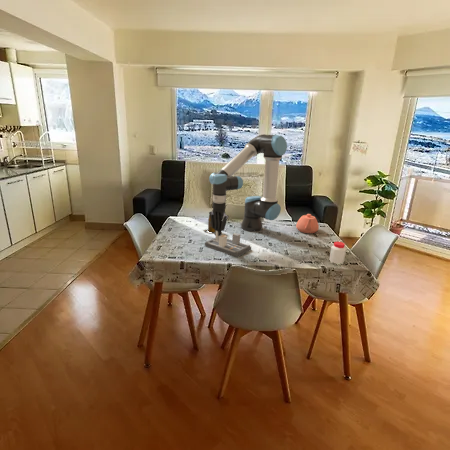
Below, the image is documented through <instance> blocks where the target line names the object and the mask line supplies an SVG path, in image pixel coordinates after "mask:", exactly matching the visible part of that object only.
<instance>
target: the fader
mask: <svg viewBox="0 0 450 450" xmlns="http://www.w3.org/2000/svg"><path fill="white" fill-rule="evenodd" d="M227 238H228V236H227V235H225V234H221V235H220V236H219V246H221V247H225V246H227Z"/></svg>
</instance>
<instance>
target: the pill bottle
mask: <svg viewBox="0 0 450 450" xmlns="http://www.w3.org/2000/svg"><path fill="white" fill-rule="evenodd" d="M345 245H346V243H344V242H342V241H334V242H333V245H331V247H330V252H329V259H328V261H329V260H330V261H331V262H334V263H343V262H344V263H345V257H346V254H347V253H346V252H347V247H345ZM331 262H330V263H331Z"/></svg>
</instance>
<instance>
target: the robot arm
mask: <svg viewBox="0 0 450 450" xmlns="http://www.w3.org/2000/svg"><path fill="white" fill-rule="evenodd" d="M287 149H288V144H287V140H286V138H285V137H284V136H282V135H279V134H259V135H256V136H255V137H254V138H252V139H250V140H249V141H248V142H247V143H246V144H245V145H244V148H243V149H242V150H240V152H239V153H237V154H236V155H235V156H234V157H232V159H231V160H230V161H229V162H228V163H226V164H225V165H224V166H223V167H222V168H220V170H219V171H217V172H212V173H211V174H210V175H209V179H208V181H209V183H210V184H211V185H212V206H211V207H212V209H211V210H212V211H209V212H208V213H209V214H210V217H211V224H212V228H214V230H215V233H214V235H215V237H214V238H215V241H217V242H218V241H219V236H220V235H222V231H225V229H226V225H227V221H228V220H229V219H228V218H229V217H230V216H229V215H227V214H226V208H227V207H226V206H227V204H226V203H227V192H228V191H237V190H240V189H242V188H243V186H244V180H243V178H242V177H241V176H238V175H235V174H236V173H237V172H238V171H239V170H240V169H241V168H242V167H243V166H244V165H245V164H246V163H247V162H249V160H250V159H252V157H256V156H257V155H260V154H263V158H264V160H265V161H264V163H265V164H264V178H263V188H262V190H263V191H262V196H260V195H253V196H252V195H251V196H247V197H246V198H245V200H244V212H243V213H244V214H243V219H242V221H241V224H240V225H241V226H240V228H241V230H243V231H245V232H246V231H248V232H260V231H262V230H263V223H262V219H265V220H267V221H274V220H276V219H277V218H278V217H279V215H280V214H281V210H282V206H281V205H280V204H279V203H278V202H279V199H278V198H277V190H278V189H277V188H278V177H279V165H280V160H281V159H282V158H283V156H284V155H285V154H286V152H287ZM234 175H235V176H234ZM261 218H262V219H261Z"/></svg>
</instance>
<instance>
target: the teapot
mask: <svg viewBox="0 0 450 450" xmlns="http://www.w3.org/2000/svg"><path fill="white" fill-rule="evenodd" d="M319 226H320V225H319V223H318V220H317V218H316V217H315V216H313V215H312V214H311V213H307V214H304V215H302V216H301V217H300V218H299V219H298V220H297V223H296V226H295V227H296V230H297V231H299V232H300V233H304V234H315V233H316V232H318V231H319V228H320V227H319Z"/></svg>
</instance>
